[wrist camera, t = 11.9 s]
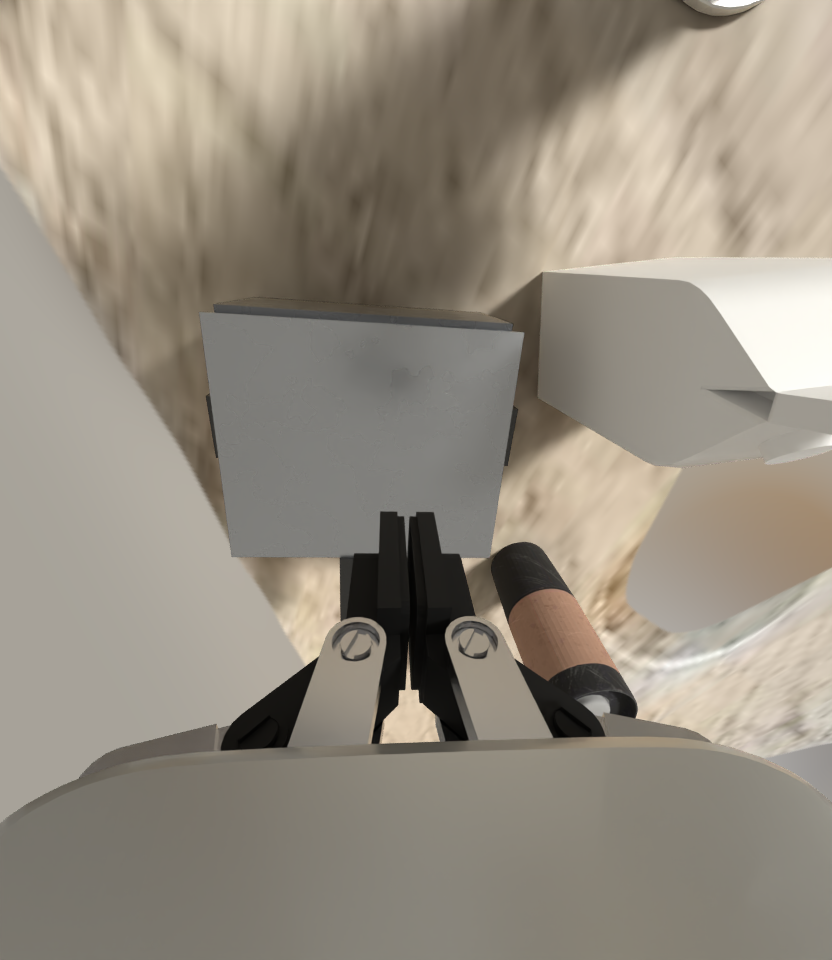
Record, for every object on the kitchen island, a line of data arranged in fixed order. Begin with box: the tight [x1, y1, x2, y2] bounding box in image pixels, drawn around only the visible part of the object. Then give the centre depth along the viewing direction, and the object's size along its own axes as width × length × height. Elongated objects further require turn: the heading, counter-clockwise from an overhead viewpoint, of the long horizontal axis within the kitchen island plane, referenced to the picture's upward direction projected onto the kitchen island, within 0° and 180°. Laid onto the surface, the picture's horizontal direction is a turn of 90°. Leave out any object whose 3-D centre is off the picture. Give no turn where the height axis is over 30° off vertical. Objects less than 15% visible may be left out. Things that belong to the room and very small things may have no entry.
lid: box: [199, 312, 524, 621], centre depth 31 cm, size 21×25×2 cm
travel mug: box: [491, 542, 638, 718], centre depth 42 cm, size 8×8×20 cm
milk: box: [537, 257, 832, 468], centre depth 27 cm, size 12×12×26 cm
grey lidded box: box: [206, 297, 518, 466], centre depth 36 cm, size 24×18×10 cm
